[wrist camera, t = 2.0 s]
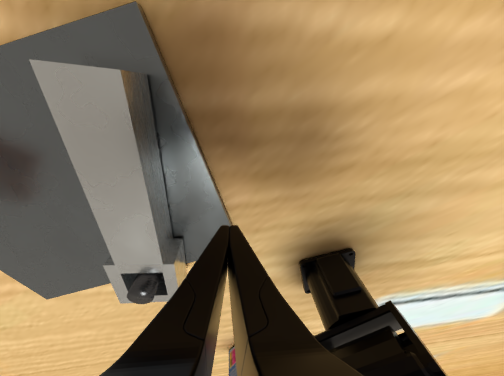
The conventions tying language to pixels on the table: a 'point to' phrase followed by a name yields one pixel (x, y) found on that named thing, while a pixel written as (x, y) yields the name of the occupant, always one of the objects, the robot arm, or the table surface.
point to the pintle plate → (62, 170)
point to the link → (117, 168)
